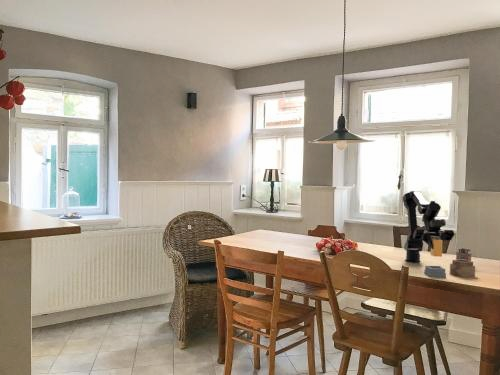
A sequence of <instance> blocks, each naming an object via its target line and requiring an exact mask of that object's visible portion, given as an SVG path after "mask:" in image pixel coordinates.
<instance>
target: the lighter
mask: <svg viewBox="0 0 500 375" xmlns="http://www.w3.org/2000/svg"><path fill="white" fill-rule="evenodd" d="M470 252H471V248H465V247H462V248H460V247H458V251H455V254H456V255H455V260H458V259H463V260H468V261H472V256H473V254H472V253H470Z"/></svg>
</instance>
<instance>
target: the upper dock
mask: <svg viewBox="0 0 500 375" xmlns="http://www.w3.org/2000/svg"><path fill="white" fill-rule="evenodd" d="M449 274H450V275H454V276H458V277H461V278H468V277H475V276H476V265H474V261H472V260H471V261H468V260H463V259H458V260H456V259H452V262H451V263H449Z"/></svg>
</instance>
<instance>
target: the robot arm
mask: <svg viewBox="0 0 500 375" xmlns="http://www.w3.org/2000/svg"><path fill="white" fill-rule="evenodd" d="M402 202H403V206H404V208H405V209H406V210H407V221H408V235H407V237H406V240H405V243H404V246H403V247H404V250H405V251H406V252H405V253H406V256H405V257H406V258H405V259H404V261H406V262H409V263H414V264H415V263H420V262H421V258H420V257H421V254H420V252H422V251H423V247H424V243H426V244H427V245H428V246H429V248H430V249H431V248H432V249H433V248H434V247H433V243H432V240H431V239H432V238H433V237H434V238H439V239H441V240H443V243H442V250H443V249H444V242H446V241H450V242H451V241H452V240H453V238H454V236H455V232H454V229H444V231H443V232H441V228H443V227H445V226H446V225H447V224H446V220H445V219H444V218H441V219H436V218H437V217H438V216H439V212H440V211H441V205H440V204H439V203H437V202H436V201H435V200H430V201H428V200H426V199H425V198H424V196H423V194H422V193H421V191H420V190H410V191H409V192H407V193H404V195H402ZM417 212H418V214H420V215H422V218H421V221H422V222H423V225H424V228H418V220H417Z"/></svg>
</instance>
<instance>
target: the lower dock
mask: <svg viewBox="0 0 500 375" xmlns="http://www.w3.org/2000/svg"><path fill="white" fill-rule="evenodd" d="M424 274H425V275H427V276H428V277H429V278H447V273H446V268H445V267H442V266H441V265H425V269H424Z"/></svg>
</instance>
